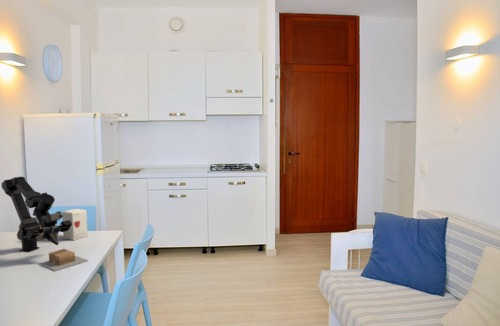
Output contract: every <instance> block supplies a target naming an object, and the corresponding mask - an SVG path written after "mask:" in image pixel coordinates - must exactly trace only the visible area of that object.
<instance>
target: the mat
mask: <svg viewBox="0 0 500 326" xmlns="http://www.w3.org/2000/svg"><path fill="white" fill-rule="evenodd" d="M86 262H89V260H88V259H86V258H84V257H83V258H82V257H80V256H77V255H75V261H74V262H70V263H67V264H64V265H61V266H59V265H57V264H54V263H52V262H49V261H48V262H45V263H42V264H40V265H41V267H45V268H47V269H49V270H51V271H53V270H54V271H53V272H58V271H61V270H64V269H66V268H67V269H68V268H70V267H74V266H77V265H81V264H84V263H86Z"/></svg>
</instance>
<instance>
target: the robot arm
mask: <svg viewBox="0 0 500 326" xmlns="http://www.w3.org/2000/svg"><path fill="white" fill-rule="evenodd" d="M1 188H2V190H3V192H4V193H5V195H7V196H8V197H10V198H11V201H12V204H13V206H14V208H15V211H16V213H17V216H18V219H19V226H18V230H17V233H16V237H17V239H18V240H20V241H21V242H20V243H21V248H20V249H19V251H20V252H24V253H25V252H26V253H29V252H32V251H36V250H38V249H40V247H39V246H38V243H37V241H38V240H36V237H37V236H39V235H40V234H42V235H43V236H42V238H45V239H44V240H47V241H49V242H51V243H52V244H54V245H55V246H58V245H59V244H60V242H59V241H60V240H59V233H63V232H65V231H68V230H69V229H70V227H71V225H72V222H71V221H70V220H66V221H63V220H61V222H60V223H59V224H58V221H60V219H63V215H62V211H60V210H59V211H58V210H57V211H56V212H55V213H50V212H49V211H50V210H51V209H52V207H53V204H54V203H55V201H56V200H55V197H54V196H53V195H52V194H49V193H47V192H43V193H41V192H38V191H36V190H35V189H34V188H33V187H32V186H31V185H30V183H28V181H27V180H26V178H25V176H16V177H15V176H14V177H13V178H10V179H4V180H3V182H1ZM24 198H25V199H24ZM29 209H33V211H32V215H31V214H30V212H29ZM32 216H33V217H32ZM57 224H58V225H57ZM40 226H41V228H42V229H40Z"/></svg>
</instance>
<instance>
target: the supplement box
mask: <svg viewBox="0 0 500 326" xmlns="http://www.w3.org/2000/svg"><path fill="white" fill-rule="evenodd" d="M61 213H62V216H63V217H62V221H66V220H70V221H71V222H72V225H71V227H70V229H69V230H68V231H65V232H62V234H63V239H66V240H71V241H77V240H79V239H83V238H84V239H85V238H87V237H88V220H87V219H88V217H87V210H86V209H81V208H73V209H69V210H63V211H61Z"/></svg>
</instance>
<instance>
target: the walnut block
mask: <svg viewBox="0 0 500 326" xmlns="http://www.w3.org/2000/svg"><path fill="white" fill-rule="evenodd" d="M75 253H76V252H74V251H71V250H69V249H65V248H62V249H58V250H55V251H51V252H48V259H49V261H48V263H49V262H52V263H54V264H57V265H59V266H61V265H64V264H67V263H70V262H74V261H75V256H76V255H75Z"/></svg>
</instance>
